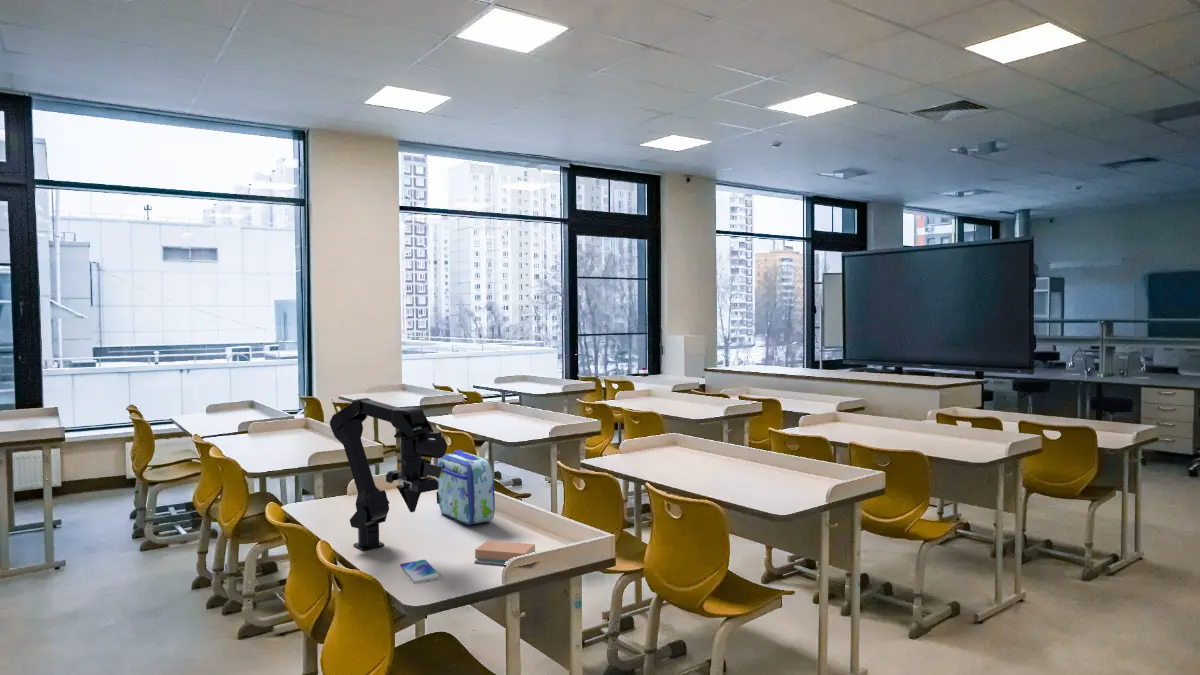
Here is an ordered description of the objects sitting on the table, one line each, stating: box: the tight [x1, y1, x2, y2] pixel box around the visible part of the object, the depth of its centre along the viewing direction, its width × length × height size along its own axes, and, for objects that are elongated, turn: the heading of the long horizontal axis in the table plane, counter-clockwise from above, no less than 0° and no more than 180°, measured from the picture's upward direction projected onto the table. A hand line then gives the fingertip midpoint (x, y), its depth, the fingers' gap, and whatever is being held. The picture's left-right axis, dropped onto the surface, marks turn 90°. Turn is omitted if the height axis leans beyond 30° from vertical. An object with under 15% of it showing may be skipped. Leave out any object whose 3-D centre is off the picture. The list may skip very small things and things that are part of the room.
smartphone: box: [398, 559, 442, 584], centre depth 189 cm, size 7×1×15 cm
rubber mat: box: [474, 559, 506, 567], centre depth 199 cm, size 10×12×1 cm
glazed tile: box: [474, 540, 536, 561], centre depth 199 cm, size 2×8×14 cm
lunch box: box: [436, 449, 496, 526], centre depth 237 cm, size 26×11×21 cm, turn 35°
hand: (412, 511), depth 201 cm, fingers closed
